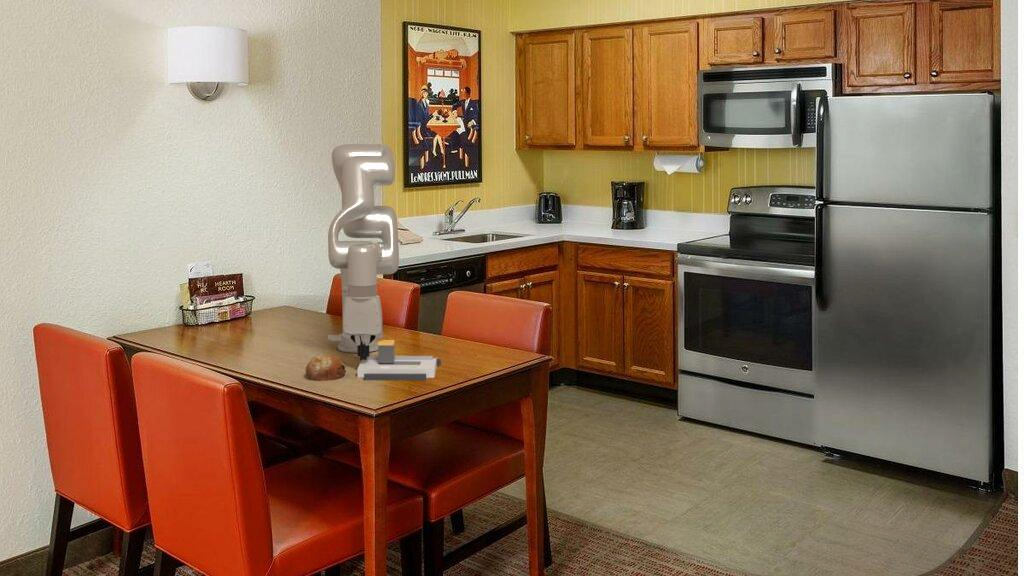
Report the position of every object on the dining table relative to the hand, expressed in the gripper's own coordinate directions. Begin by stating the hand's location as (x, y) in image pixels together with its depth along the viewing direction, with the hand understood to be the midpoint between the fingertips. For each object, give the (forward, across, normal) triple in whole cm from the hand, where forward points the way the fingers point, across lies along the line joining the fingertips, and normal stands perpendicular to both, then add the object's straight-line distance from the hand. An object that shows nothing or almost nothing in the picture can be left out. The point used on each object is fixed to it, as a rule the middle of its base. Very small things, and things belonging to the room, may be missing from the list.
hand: (363, 359), depth 258 cm
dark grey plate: (+4, +9, 0) cm, 10 cm away
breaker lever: (+1, +6, 0) cm, 6 cm away
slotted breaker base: (+4, +9, 0) cm, 10 cm away
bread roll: (+4, -9, -5) cm, 11 cm away
